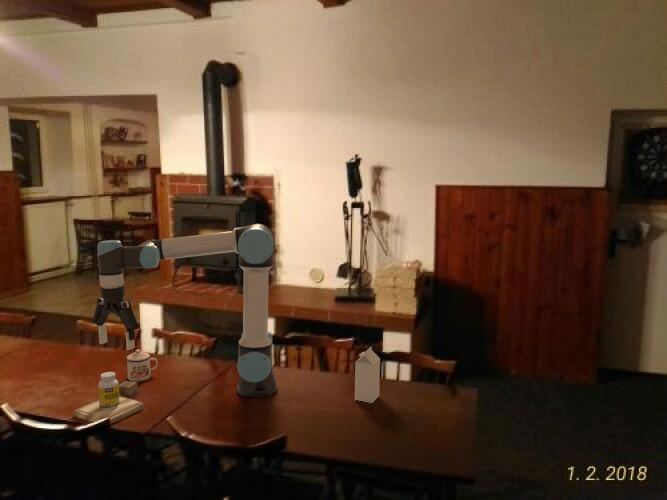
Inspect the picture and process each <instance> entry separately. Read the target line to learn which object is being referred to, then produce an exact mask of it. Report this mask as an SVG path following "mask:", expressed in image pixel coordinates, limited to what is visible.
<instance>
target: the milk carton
mask: <svg viewBox="0 0 667 500" xmlns="http://www.w3.org/2000/svg"><path fill="white" fill-rule="evenodd" d="M358 355H359V359H357V360H356V361H355V363H354V365H355V368H354V369H355V370H354V401H356V400H359V401H358V402H360V401H364V402H363V403H365V402H369V403H368V404H370V403H373V402H374V401H375V400H376V399H377V398H378V397H380V382H381V381H380V380H381V379H380V378H381V377H380V376H381V375H380V373H381V358H380V357H379V355H377V353H375V351H373V349H372V346H371V347H369V348H368V349H367V350H366V351H363V352H361V353H359V354H358ZM378 399H379V398H378ZM376 401H377V400H376ZM376 401H375V402H376ZM375 402H374V403H375ZM374 403H373V404H374Z"/></svg>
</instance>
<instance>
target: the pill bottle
mask: <svg viewBox="0 0 667 500" xmlns="http://www.w3.org/2000/svg"><path fill="white" fill-rule="evenodd" d="M119 385H120V383H119V381H118V380H117V379H116V372H114V371H107V372H106V371H105V372H103V373H101V374H100V381H99V382H98V385H97V387H98V388H97V390H98V400H99V406H100V408H102V409H113V408H115V407H117V406H118V405H119Z"/></svg>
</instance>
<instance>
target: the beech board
mask: <svg viewBox="0 0 667 500" xmlns="http://www.w3.org/2000/svg"><path fill="white" fill-rule="evenodd" d="M144 409H145V403H144V402H142V401H138V400H135V399H129V398H126V397H122V396H119V405H118V406H117V407H115V408H113V409H102V408H100V406H99V399H98V400H95V401H93V402H91V403H88V404H86V405H83V406H81V407H79V408H77V409H74V410H73V417H76V418H78V419H82V420H84V421H87V422H90V423H92V421H95V420H99V419H103V418H107V417H109V418H110V421H111V423H113V422H115V423H117V422H119V421H121V420H123V419H125V418H128V417H129V416H132V415H135V414H136V413H138V412H139V411H142V410H144ZM127 416H128V417H127ZM120 419H121V420H120ZM118 420H119V421H118ZM116 421H117V422H116ZM113 424H114V423H113Z"/></svg>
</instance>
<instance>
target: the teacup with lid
mask: <svg viewBox="0 0 667 500" xmlns="http://www.w3.org/2000/svg"><path fill="white" fill-rule="evenodd" d="M125 360H126V363H127V365H126V366H127V379H128V381H130V382H137V383H138V382H143V381H147V380H148V379H150V378H151V371H154V370H155V369H156V368H157V366H158V364H159V362H158V359H157V358H155V357H151V355H150V354H149V353H148V352H144V351H142V350H141V349H135V352H133V353H131V354H128V355H127V356H126V359H125ZM151 361H155V365H154V366H153V367H151Z"/></svg>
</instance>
